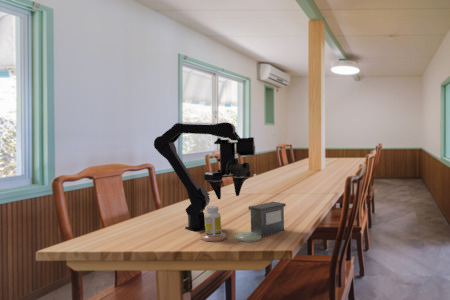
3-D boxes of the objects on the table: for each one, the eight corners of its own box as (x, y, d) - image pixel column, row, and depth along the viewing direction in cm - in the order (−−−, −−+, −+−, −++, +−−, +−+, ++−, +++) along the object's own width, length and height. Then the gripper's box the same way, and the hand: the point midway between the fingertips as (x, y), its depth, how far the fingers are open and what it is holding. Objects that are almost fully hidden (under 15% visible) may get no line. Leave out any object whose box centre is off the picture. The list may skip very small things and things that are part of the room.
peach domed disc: (195, 238, 129) (195, 235, 129) (215, 233, 135) (214, 230, 135) (211, 243, 122) (211, 240, 122) (231, 237, 128) (231, 235, 128)
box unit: (249, 234, 132) (248, 206, 131) (273, 228, 140) (273, 201, 140) (261, 237, 127) (260, 208, 127) (286, 230, 136) (285, 203, 135)
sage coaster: (229, 238, 128) (229, 235, 128) (248, 233, 134) (248, 230, 134) (248, 243, 121) (248, 240, 121) (266, 238, 127) (266, 235, 127)
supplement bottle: (221, 232, 132) (220, 205, 131) (221, 236, 126) (220, 208, 126) (205, 233, 131) (204, 205, 131) (205, 237, 126) (204, 208, 126)
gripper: (222, 158, 127) (224, 203, 128) (260, 155, 139) (261, 196, 140) (202, 157, 136) (203, 199, 136) (239, 154, 148) (240, 193, 148)
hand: (228, 197), depth 140 cm, fingers open, 9 cm apart
